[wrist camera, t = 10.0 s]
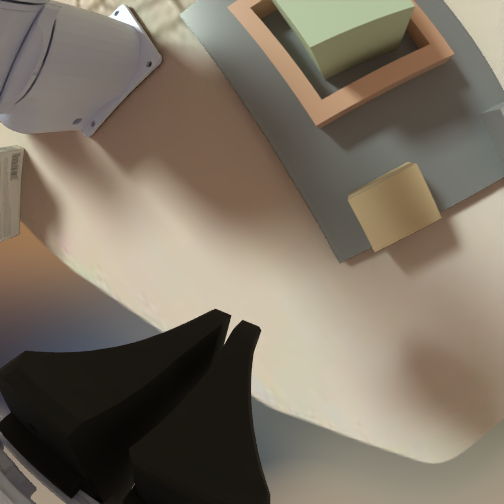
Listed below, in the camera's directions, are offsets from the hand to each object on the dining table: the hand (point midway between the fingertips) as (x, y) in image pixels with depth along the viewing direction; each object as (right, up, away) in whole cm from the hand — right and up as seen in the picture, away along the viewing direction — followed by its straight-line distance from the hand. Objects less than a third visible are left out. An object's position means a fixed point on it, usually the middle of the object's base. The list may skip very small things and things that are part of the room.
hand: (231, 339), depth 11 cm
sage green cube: (+6, +16, +3) cm, 17 cm away
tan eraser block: (+9, +6, +6) cm, 13 cm away
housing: (+7, +14, +4) cm, 17 cm away
